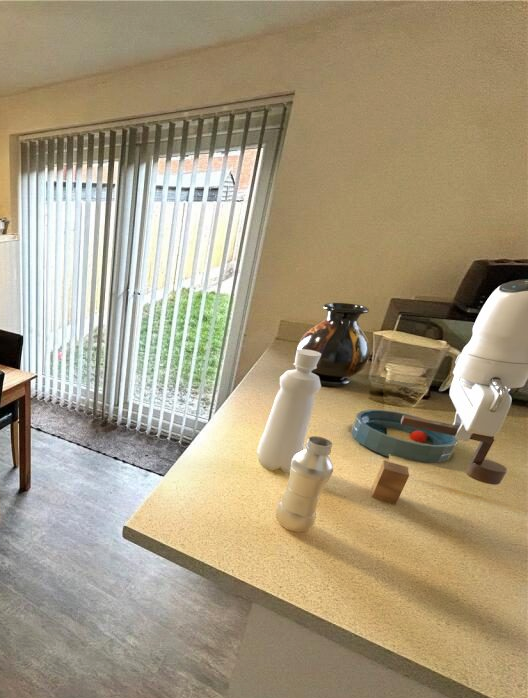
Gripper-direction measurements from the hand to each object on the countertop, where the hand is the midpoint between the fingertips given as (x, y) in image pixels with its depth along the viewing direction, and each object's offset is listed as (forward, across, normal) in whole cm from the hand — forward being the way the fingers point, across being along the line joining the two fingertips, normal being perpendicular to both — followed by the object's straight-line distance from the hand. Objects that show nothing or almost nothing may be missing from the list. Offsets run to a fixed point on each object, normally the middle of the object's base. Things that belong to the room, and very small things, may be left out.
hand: (459, 435), depth 77 cm
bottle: (+18, -2, +28) cm, 33 cm away
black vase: (+18, +72, +22) cm, 77 cm away
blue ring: (+18, +28, +3) cm, 33 cm away
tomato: (+15, +32, -1) cm, 35 cm away
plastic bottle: (+18, -24, +22) cm, 37 cm away
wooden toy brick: (+18, -1, +7) cm, 19 cm away
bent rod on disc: (+8, 0, 0) cm, 8 cm away
